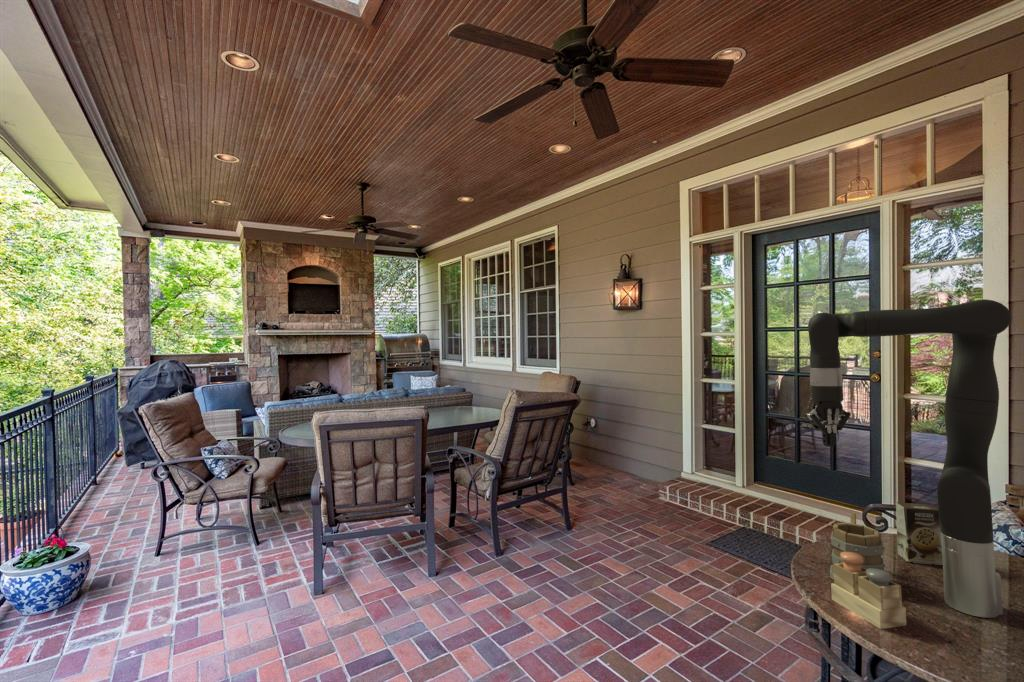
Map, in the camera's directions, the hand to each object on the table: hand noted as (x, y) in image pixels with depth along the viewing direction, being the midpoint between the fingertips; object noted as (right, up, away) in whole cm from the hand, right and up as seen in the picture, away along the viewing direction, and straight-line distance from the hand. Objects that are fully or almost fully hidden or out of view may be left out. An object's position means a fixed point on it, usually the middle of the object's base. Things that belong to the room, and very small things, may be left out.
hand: (829, 446), depth 127 cm
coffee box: (+34, -37, +10) cm, 51 cm away
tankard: (+9, -37, +1) cm, 38 cm away
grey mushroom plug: (-2, -32, -20) cm, 38 cm away
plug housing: (-2, -37, -17) cm, 40 cm away
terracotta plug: (-3, -31, -13) cm, 34 cm away
